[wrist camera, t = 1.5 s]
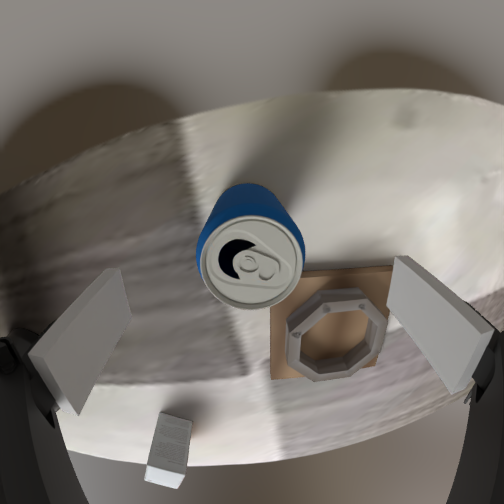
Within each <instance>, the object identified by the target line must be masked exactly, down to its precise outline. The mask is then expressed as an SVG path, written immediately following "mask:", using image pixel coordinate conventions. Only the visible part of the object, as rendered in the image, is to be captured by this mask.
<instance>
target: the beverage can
mask: <svg viewBox="0 0 504 504" xmlns="http://www.w3.org/2000/svg"><path fill="white" fill-rule="evenodd" d="M196 261H197V266H198V270H199V273H200V275H201V277H202V279H203V281H204V282H205V284H206V286H207V288H208V289H209V290H210V292H211V293H212V294H213V295H214V296H215V297H216V298H217V299H219V300H220V301H221V302H223V303H225V304H227V305H229V306H231V307H234V308H237V309H242V310H259V309H265V308H268V307H271V306H273V305H275V304H277V303H279V302H281V301H282V300H284V299H285V298H286V297H287V296H288V295H289V294H290V293H291V292H292V291H293V290H294V288H295V287H296V285H297V283H298V281H299V279H300V276H301V273H302V270H303V267H304V262H305V244H304V240H303V237H302V235H301V232H300V230H299V229H298V227H297V225H296V224H295V223H294V221H293V220H292V218H291V217H290V216H289V214H288V213H287V212H286V210H285V209H284V207H283V206H282V205H281V203H280V202H279V201H278V199H277V198H276V197H275V195H274V194H273V193H272V192H271V191H269V190H268V189H266V188H264V187H263V186H260V185H257V184H250V183H246V184H239V185H236V186H233V187H231V188H229V189H228V190H226V191H225V192H224V193H223V194H222V195H221V196H220V197H219V199H218V200H217V202H216V204H215V206H214V208H213V210H212V212H211V214H210V216H209V218H208V220H207V222H206V224H205V226H204V228H203V230H202V232H201V234H200V236H199V239H198V243H197V248H196Z"/></svg>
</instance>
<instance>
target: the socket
mask: <svg viewBox="0 0 504 504" xmlns="http://www.w3.org/2000/svg"><path fill="white" fill-rule="evenodd" d="M392 272H393V266H392V265H390V266H377V267H363V268H349V269H334V270H318V271H302V273H301V276H300V279H299V281H298V283H297V285H296V287H295V288H294V290H293V291H292V292H291V293H290V294H289V295H288V296H287V297H286V298H285V299H284V300H282V301H281V302H279V303H277V304H275V305H273V306H271V307H270V374H271V380H274V379H287V378H297V377H307V378H308V379H310V380H312V381H313V382H317V381H325V380H332V379H338V378H344V377H350V376H352V375H353V374H354V373H355V372H357V371H358V370H359V369H361V368H366V367H372V366H375V364H376V361H377V358H378V354H379V353H380V350H381V346H382V343H383V339H384V335H385V332H386V328H387V324H388V316H389V312H390V310H389V308H388V307H387V306H386V304H387V299H388V294H389V289H390V284H391V278H392Z"/></svg>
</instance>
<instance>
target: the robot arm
mask: <svg viewBox="0 0 504 504" xmlns="http://www.w3.org/2000/svg"><path fill="white" fill-rule="evenodd" d="M386 306H387V307H388V308H389V310H390V311H391V312H392V313H393V315H394V316H395V317H396V318H397V320H398V321H399V322H400V324H401V325H402V326H403V328H404V329H405V330H406V331H407V333H408V334H409V335H410V337H411V338H412V339H413V341H414V342H415V343H416V345H417V346H418V348H419V349H420V350H421V352H422V353H423V354H424V356H425V357H426V359H427V360H428V361H429V363H430V364H431V366H432V367H433V368H434V370H435V371H436V373H437V374H438V376H439V377H440V379H441V380H442V381H443V383H444V384H445V386H446V387H447V389H448V390H449V392H450V393H451V394H454V393H456V392H459V391H461V390H463V389H465V388H466V386H467V384H468V383H469V381H470V379H471V377H472V378H473V379H474V380H475V384H474V386H473V387H472V389H471V391H470V392H469V394H468V396H467V397H466V399H465V401H464V403H465V404H466V403H467V401H468V399H470V398H471V402H470V404H469V405H470V411H469V417H468V424H467V430H466V435H465V440H464V444H463V449H462V453H461V457H460V462H459V465H458V469H457V472H456V476H455V479H454V482H453V486H452V489H451V491H450V494H449V497H448V500H447V503H446V504H504V331H502V332H501V333H500V332H499V331H498V330H497V329H496V328H495V327H494V326H493V325H492V324H491V323H490V322H489V321H488V320H486V319H485V318H484V317H483V316H481V314H480V313H479V312H478V311H477V310H476V311H475V309H474V308H473V307H472V306H471V305H470V304H469V303H467V302H465V301H464V300H462V299H461V298H460V297H458V296H457V295H456V294H455V293H454V292H453V291H451V290H450V289H449V288H448V287H447V286H445V285H444V284H443V283H442V282H441V281H439V280H438V279H437V278H436V277H434V276H433V275H432V274H431V273H429V272H428V271H427V270H426V269H424V268H423V267H422V266H421V265H419V264H418V263H417V262H415V261H414V260H413V259H412V258H410V257H409V256H408V255H407V256H395V260H394V266H393V272H392V278H391V284H390V289H389V294H388V299H387V304H386ZM131 319H132V315H131V311H130V308H129V304H128V300H127V296H126V292H125V288H124V284H123V280H122V276H121V271H120V268H107V269H105V270H104V271H103V272H102V273H101V274H100V275H99V276H98V277H97V278H96V279H95V280H94V281H93V282H92V283H91V284H90V285H89V286H88V287H87V288H86V289H85V290H84V291H83V293H82V294H81V295H80V296H79V297H78V298H77V299H76V300H75V301H74V302H73V303H72V304H71V305H70V306H69V307H68V308H67V309H66V310H65V312H64V313H63V314H62V315H61V316H60V317H59V318H58V319H57V320H55V321H54V322H52V323H51V324H50V325H49V326H48V327H47V328H46V329H45V330H44V333H42V334H41V335H40V336H38V335H36V334H35V333H33V332H31V331H29V330H26V329H22V328H17V329H14V330H12V331H11V333H10V334H9V335H8V336H7V337H1V338H0V504H89V503H88V501H87V499H86V497H85V495H84V492H83V490H82V488H81V485H80V483H79V481H78V479H77V476H76V473H75V471H74V468H73V466H72V463H71V461H70V458H69V455H68V452H67V449H66V446H65V443H64V440H63V437H62V433H61V430H60V426H59V423H58V419H57V415H56V413H55V412H57V411H58V410H59V409H60V408H61V410H62V411H63V412H66V413H69V414H73V415H76V416H79V414H80V412H81V410H82V408H83V406H84V404H85V402H86V400H87V398H88V396H89V394H90V392H91V390H92V388H93V387H94V385H95V383H96V381H97V379H98V377H99V375H100V373H101V371H102V370H103V368H104V366H105V364H106V362H107V360H108V359H109V357H110V355H111V353H112V351H113V350H114V348H115V346H116V344H117V343H118V341H119V339H120V337H121V336H122V334H123V332H124V330H125V329H126V327H127V325H128V324H129V322H130V320H131Z"/></svg>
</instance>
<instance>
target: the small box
mask: <svg viewBox="0 0 504 504" xmlns="http://www.w3.org/2000/svg"><path fill="white" fill-rule="evenodd" d="M192 424H193V422H192V421H189V420H185V419H181V418H178V417H174V416H171V415H167V414H164V413H159V417H158V421H157V425H156V429H155V433H154V437H153V441H152V445H151V449H150V453H149V457H148V462H147V468H146V473H145V477H144V480H146V481H149V482H153V483H156V484H159V485H164V486H167V487H171V488H176V489H178V488H179V486H180V484H181V482H182V481H183V479H184V477H185V475H186V470H187V462H188V454H189V445H190V438H191V430H192Z"/></svg>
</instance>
